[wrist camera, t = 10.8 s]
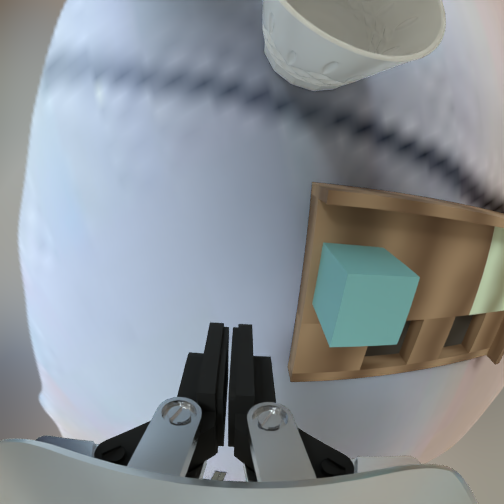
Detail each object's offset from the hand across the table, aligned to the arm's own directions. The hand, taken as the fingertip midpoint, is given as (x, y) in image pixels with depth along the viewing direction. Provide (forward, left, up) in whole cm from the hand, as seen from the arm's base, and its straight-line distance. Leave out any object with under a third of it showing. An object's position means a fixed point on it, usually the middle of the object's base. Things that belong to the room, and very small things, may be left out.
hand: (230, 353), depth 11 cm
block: (+8, 0, -8) cm, 11 cm away
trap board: (+17, -2, -10) cm, 20 cm away
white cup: (+4, +16, -10) cm, 19 cm away
